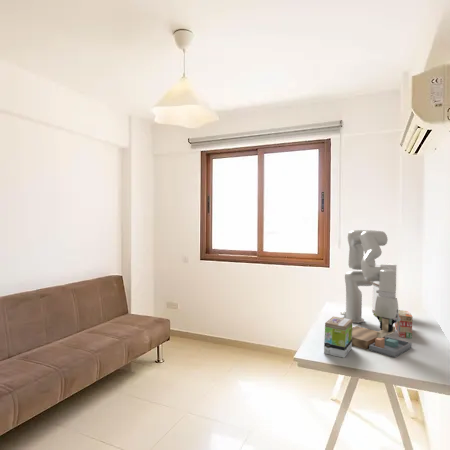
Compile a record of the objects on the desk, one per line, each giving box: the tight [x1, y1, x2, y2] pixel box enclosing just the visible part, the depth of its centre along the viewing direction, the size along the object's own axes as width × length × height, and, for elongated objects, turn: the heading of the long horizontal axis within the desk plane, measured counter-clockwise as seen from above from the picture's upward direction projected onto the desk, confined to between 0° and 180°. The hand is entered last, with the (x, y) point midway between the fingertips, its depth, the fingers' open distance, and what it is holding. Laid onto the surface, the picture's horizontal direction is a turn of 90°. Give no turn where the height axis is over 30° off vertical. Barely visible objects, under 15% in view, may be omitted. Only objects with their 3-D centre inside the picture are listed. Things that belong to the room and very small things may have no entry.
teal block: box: [385, 338, 398, 348], centre depth 169 cm, size 4×4×2 cm
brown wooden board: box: [352, 325, 386, 350], centre depth 177 cm, size 16×20×4 cm
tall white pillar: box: [371, 262, 397, 314], centre depth 230 cm, size 11×11×35 cm
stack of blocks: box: [394, 309, 414, 339], centre depth 193 cm, size 21×6×12 cm, turn 160°
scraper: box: [377, 318, 396, 338], centre depth 168 cm, size 3×16×8 cm, turn 131°
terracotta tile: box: [375, 338, 385, 348], centre depth 166 cm, size 4×4×2 cm
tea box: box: [323, 316, 353, 359], centre depth 162 cm, size 15×10×15 cm
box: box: [368, 336, 413, 359], centre depth 166 cm, size 12×20×2 cm, turn 131°
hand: (386, 330), depth 168 cm, fingers closed on scraper, 3 cm apart
